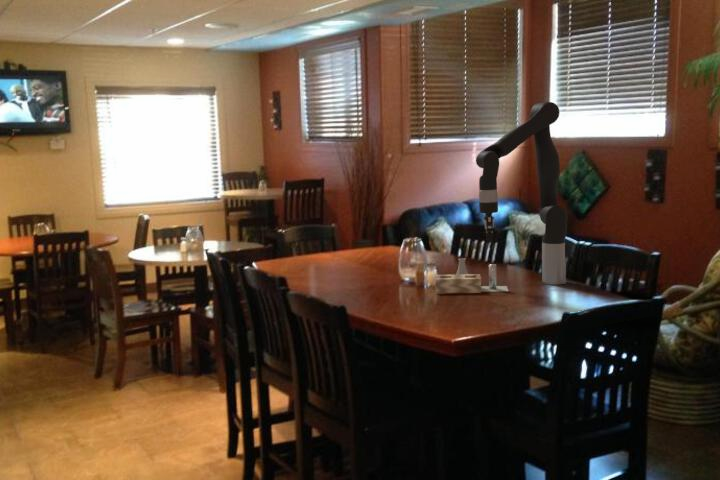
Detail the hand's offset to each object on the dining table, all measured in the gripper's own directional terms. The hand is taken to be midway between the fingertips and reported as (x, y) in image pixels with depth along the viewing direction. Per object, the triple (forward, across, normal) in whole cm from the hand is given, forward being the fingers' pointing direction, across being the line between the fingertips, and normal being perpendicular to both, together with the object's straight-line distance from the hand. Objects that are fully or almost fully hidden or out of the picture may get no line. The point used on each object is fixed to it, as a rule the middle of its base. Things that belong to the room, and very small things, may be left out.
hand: (489, 240), depth 292 cm
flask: (+20, +17, +11) cm, 29 cm away
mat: (+20, -1, -1) cm, 20 cm away
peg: (+20, -1, -1) cm, 20 cm away
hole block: (+20, -3, +13) cm, 24 cm away
